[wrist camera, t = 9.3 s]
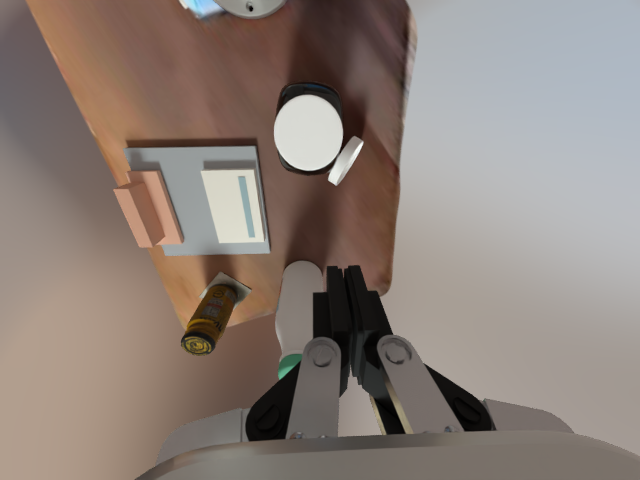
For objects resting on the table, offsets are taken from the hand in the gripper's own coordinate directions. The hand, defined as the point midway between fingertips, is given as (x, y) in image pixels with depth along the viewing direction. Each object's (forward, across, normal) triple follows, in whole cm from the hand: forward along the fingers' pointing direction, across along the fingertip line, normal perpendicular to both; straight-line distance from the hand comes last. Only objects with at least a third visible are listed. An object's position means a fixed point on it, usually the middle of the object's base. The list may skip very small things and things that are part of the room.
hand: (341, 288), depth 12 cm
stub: (+26, +26, +5) cm, 37 cm away
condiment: (+27, +20, +24) cm, 42 cm away
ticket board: (+27, +19, +5) cm, 33 cm away
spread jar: (+27, 0, -5) cm, 28 cm away
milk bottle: (+27, +4, +20) cm, 34 cm away
